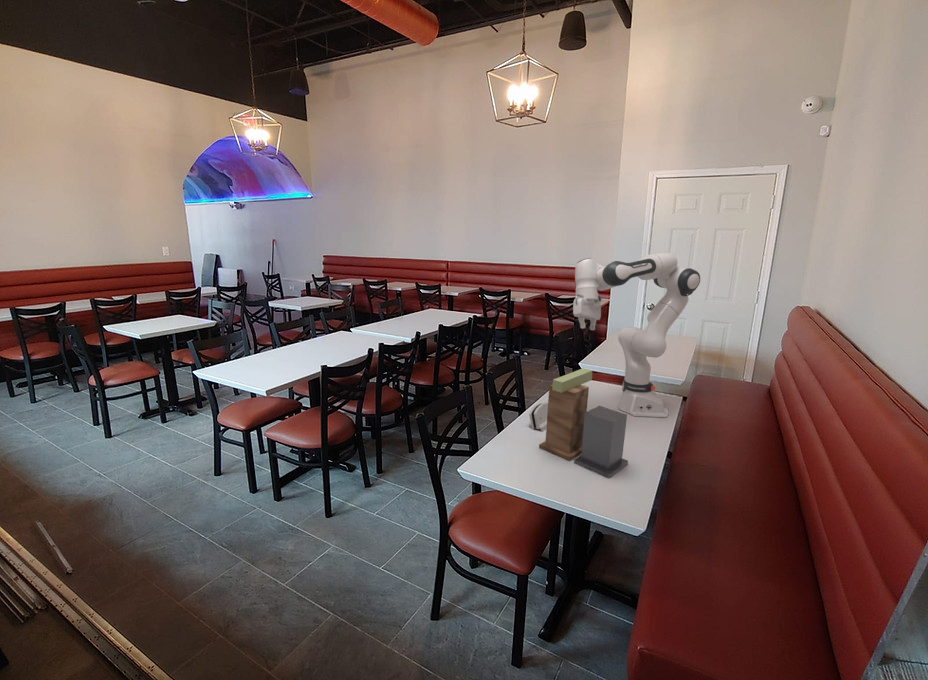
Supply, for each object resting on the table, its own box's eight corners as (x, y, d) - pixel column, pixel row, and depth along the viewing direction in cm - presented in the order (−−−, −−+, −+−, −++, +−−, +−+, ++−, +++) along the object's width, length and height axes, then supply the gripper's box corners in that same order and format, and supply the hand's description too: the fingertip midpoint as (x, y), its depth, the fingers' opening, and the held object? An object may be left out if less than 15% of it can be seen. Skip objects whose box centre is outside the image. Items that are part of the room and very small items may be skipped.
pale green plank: (582, 377, 180) (583, 368, 179) (591, 380, 177) (592, 370, 176) (552, 389, 166) (553, 379, 165) (561, 392, 163) (562, 382, 162)
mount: (593, 450, 175) (598, 403, 170) (627, 464, 165) (633, 414, 160) (574, 463, 165) (578, 413, 160) (608, 478, 155) (614, 425, 150)
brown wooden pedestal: (559, 436, 186) (563, 377, 179) (589, 448, 176) (595, 386, 170) (539, 447, 176) (542, 385, 170) (569, 461, 166) (574, 395, 160)
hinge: (542, 432, 190) (536, 409, 189) (532, 432, 193) (526, 410, 192) (559, 419, 203) (553, 398, 202) (550, 420, 206) (544, 399, 205)
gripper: (583, 292, 179) (584, 326, 177) (603, 298, 194) (604, 330, 193) (568, 294, 182) (569, 327, 181) (589, 300, 198) (590, 331, 197)
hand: (587, 329), depth 187 cm, fingers open, 8 cm apart
